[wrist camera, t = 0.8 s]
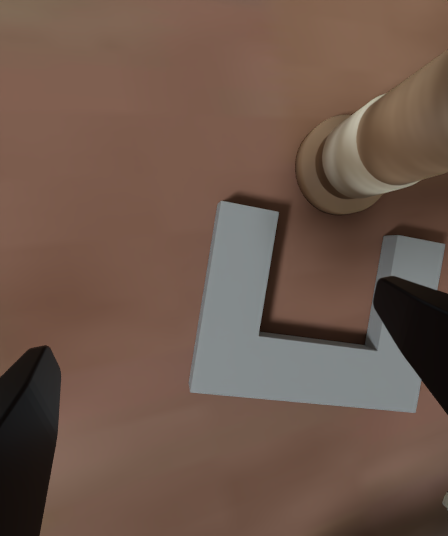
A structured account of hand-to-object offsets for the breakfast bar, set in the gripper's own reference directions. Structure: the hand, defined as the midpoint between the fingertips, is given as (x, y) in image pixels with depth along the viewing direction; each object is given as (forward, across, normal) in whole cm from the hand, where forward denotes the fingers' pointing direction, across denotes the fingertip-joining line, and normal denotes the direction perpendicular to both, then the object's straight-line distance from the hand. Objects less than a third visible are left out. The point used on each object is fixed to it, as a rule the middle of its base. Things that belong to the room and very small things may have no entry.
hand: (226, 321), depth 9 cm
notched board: (+10, -8, +9) cm, 16 cm away
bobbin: (+14, -11, +1) cm, 18 cm away
